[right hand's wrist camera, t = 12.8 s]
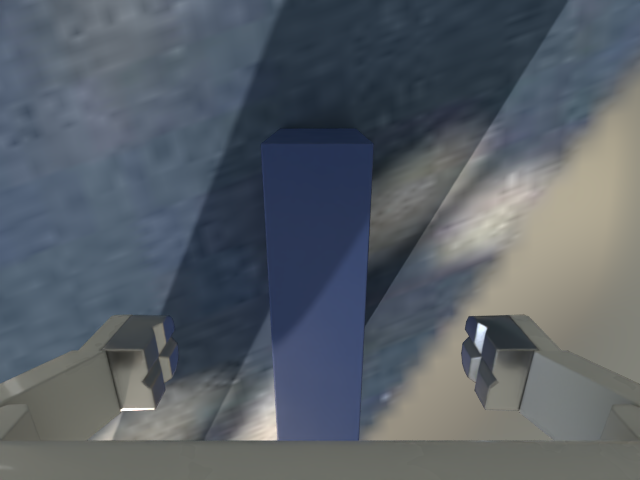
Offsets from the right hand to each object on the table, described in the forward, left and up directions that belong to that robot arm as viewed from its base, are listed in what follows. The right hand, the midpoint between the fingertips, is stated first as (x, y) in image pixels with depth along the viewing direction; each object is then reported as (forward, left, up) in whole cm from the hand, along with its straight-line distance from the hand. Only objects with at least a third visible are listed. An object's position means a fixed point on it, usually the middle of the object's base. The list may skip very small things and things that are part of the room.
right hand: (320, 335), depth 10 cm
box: (+6, +3, -22) cm, 23 cm away
